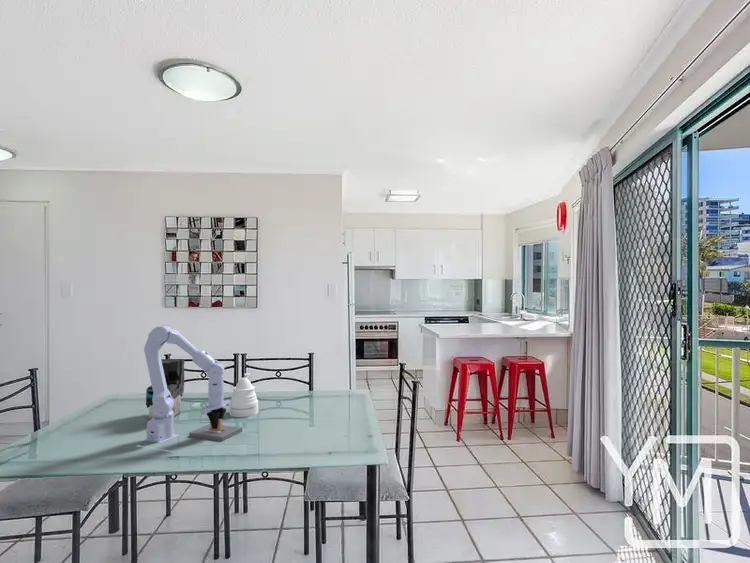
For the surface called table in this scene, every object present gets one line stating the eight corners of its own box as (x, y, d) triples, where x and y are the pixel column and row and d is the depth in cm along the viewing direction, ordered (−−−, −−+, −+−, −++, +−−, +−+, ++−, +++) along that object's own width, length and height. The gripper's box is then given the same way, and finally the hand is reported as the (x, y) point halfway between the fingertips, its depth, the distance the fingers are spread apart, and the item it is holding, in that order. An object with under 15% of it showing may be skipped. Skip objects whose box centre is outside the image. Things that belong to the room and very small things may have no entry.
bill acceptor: (144, 425, 196) (144, 367, 196) (161, 411, 219) (161, 358, 219) (170, 424, 198) (170, 366, 198) (185, 410, 220) (184, 357, 220)
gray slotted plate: (222, 442, 175) (222, 436, 175) (189, 437, 181) (189, 432, 181) (242, 432, 186) (242, 427, 186) (210, 428, 192) (210, 423, 192)
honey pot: (244, 408, 224) (244, 370, 224) (264, 411, 217) (264, 373, 217) (223, 414, 213) (223, 375, 213) (243, 418, 206) (243, 378, 206)
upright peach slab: (220, 435, 182) (220, 419, 182) (210, 433, 184) (210, 418, 184) (222, 434, 183) (222, 419, 183) (212, 432, 185) (212, 417, 185)
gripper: (211, 398, 175) (211, 434, 175) (235, 390, 189) (236, 423, 189) (196, 397, 178) (197, 432, 178) (221, 389, 192) (222, 421, 191)
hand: (216, 427), depth 184 cm, fingers closed on upright peach slab, 1 cm apart
